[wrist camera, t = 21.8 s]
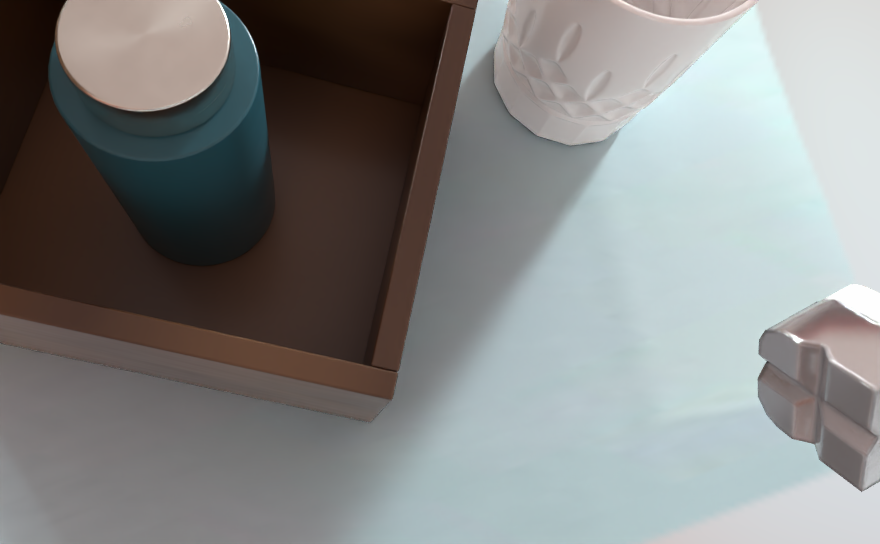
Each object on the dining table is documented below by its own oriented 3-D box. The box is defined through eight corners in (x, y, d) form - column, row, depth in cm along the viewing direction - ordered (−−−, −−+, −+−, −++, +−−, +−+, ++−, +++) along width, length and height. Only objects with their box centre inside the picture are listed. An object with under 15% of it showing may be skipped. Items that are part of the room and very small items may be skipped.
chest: (441, 103, 32) (480, -12, 25) (370, 423, 28) (392, 400, 21) (66, 5, 31) (-13, -149, 23) (-66, 328, 26) (-212, 268, 19)
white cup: (680, 124, 34) (826, -17, 24) (528, 185, 32) (622, 56, 22) (599, -21, 35) (707, -208, 26) (448, 28, 33) (504, -156, 24)
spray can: (290, 155, 30) (279, -26, 19) (255, 280, 28) (222, 158, 18) (155, 121, 29) (69, -84, 19) (112, 247, 27) (-9, 101, 17)
